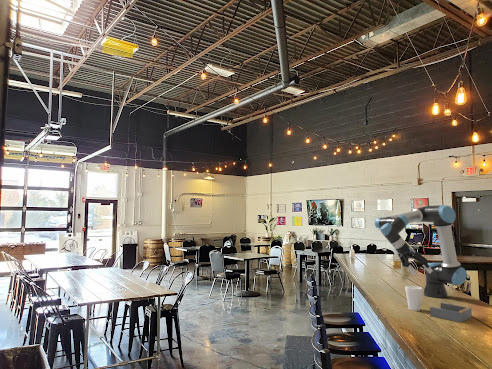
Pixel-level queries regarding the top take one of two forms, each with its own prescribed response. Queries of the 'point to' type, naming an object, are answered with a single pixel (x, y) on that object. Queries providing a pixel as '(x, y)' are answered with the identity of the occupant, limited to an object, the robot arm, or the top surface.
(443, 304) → the box
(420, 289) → the foam cup
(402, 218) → the robot arm
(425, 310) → the top surface
